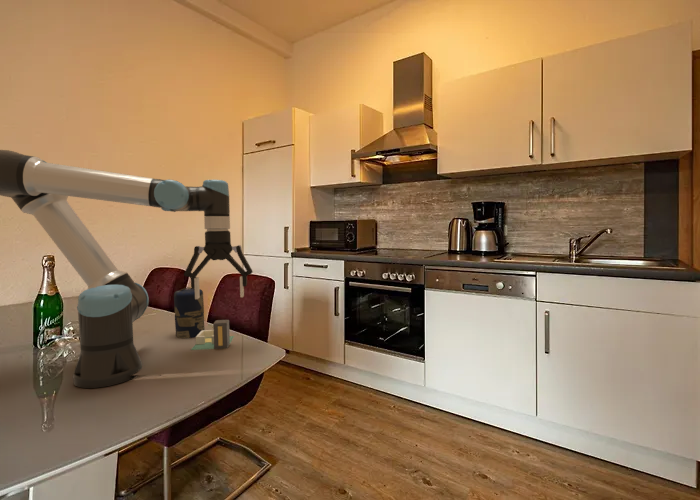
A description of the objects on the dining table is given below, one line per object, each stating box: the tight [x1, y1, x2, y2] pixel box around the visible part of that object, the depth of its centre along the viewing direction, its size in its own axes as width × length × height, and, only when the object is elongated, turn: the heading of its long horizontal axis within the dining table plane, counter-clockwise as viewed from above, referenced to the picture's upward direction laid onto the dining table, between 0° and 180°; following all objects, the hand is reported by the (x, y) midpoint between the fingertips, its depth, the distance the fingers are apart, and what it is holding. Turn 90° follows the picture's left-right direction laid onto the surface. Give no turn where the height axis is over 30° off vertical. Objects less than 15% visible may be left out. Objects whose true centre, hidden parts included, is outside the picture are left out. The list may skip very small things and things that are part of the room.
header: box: [195, 329, 214, 345], centre depth 123 cm, size 8×8×2 cm
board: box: [190, 335, 235, 351], centre depth 121 cm, size 13×11×1 cm
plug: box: [212, 319, 231, 350], centre depth 116 cm, size 4×4×8 cm
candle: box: [173, 286, 206, 339], centre depth 130 cm, size 10×10×18 cm
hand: (220, 297), depth 116 cm, fingers open, 13 cm apart
